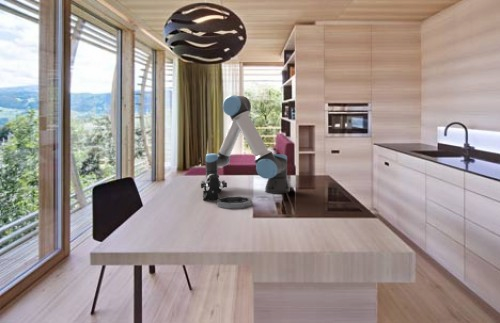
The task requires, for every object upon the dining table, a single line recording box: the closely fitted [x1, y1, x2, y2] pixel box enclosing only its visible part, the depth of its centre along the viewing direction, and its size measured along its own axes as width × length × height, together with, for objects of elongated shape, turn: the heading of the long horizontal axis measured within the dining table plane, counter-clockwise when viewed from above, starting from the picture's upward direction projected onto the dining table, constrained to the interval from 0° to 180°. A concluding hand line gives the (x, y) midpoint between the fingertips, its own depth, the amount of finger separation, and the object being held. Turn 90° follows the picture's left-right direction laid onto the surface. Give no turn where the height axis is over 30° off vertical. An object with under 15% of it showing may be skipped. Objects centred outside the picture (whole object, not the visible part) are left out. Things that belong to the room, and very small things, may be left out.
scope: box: [202, 174, 222, 202], centre depth 221 cm, size 8×14×10 cm
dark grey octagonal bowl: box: [216, 195, 253, 210], centre depth 210 cm, size 18×18×2 cm
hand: (214, 188), depth 217 cm, fingers closed on scope, 7 cm apart
